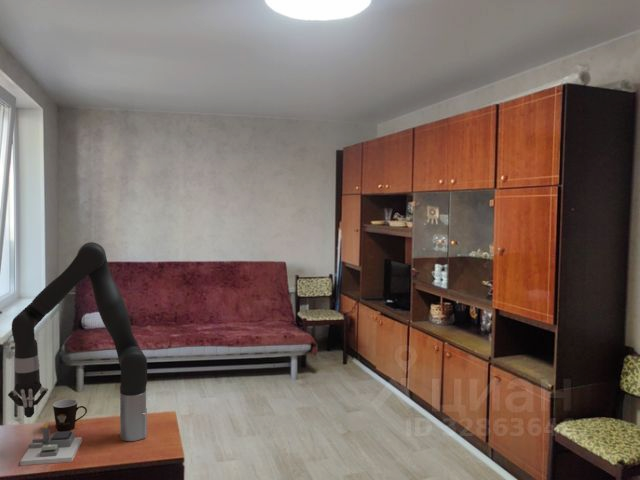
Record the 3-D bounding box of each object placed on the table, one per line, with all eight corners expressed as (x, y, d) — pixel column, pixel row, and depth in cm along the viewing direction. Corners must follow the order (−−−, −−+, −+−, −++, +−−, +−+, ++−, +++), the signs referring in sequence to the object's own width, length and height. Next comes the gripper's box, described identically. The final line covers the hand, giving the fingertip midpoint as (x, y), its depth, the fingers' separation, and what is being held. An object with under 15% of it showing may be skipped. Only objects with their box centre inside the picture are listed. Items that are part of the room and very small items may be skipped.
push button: (70, 438, 201) (70, 430, 201) (67, 445, 196) (67, 437, 196) (55, 440, 200) (55, 431, 200) (51, 446, 195) (51, 438, 195)
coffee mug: (48, 430, 211) (47, 405, 211) (66, 422, 219) (65, 397, 219) (71, 436, 207) (71, 410, 206) (88, 427, 215) (88, 402, 214)
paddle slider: (50, 440, 199) (50, 422, 198) (48, 445, 195) (47, 426, 195) (44, 441, 198) (44, 422, 198) (42, 445, 195) (41, 426, 194)
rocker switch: (57, 447, 191) (57, 443, 191) (55, 449, 189) (55, 446, 189) (43, 448, 190) (43, 444, 190) (41, 450, 188) (41, 447, 188)
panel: (81, 441, 203) (81, 430, 203) (72, 461, 188) (71, 450, 187) (34, 444, 200) (34, 433, 199) (20, 465, 184) (20, 454, 184)
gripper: (2, 373, 189) (5, 422, 190) (44, 370, 191) (46, 419, 193) (10, 366, 196) (12, 414, 197) (50, 364, 199) (52, 410, 200)
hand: (29, 416), depth 195 cm, fingers closed
